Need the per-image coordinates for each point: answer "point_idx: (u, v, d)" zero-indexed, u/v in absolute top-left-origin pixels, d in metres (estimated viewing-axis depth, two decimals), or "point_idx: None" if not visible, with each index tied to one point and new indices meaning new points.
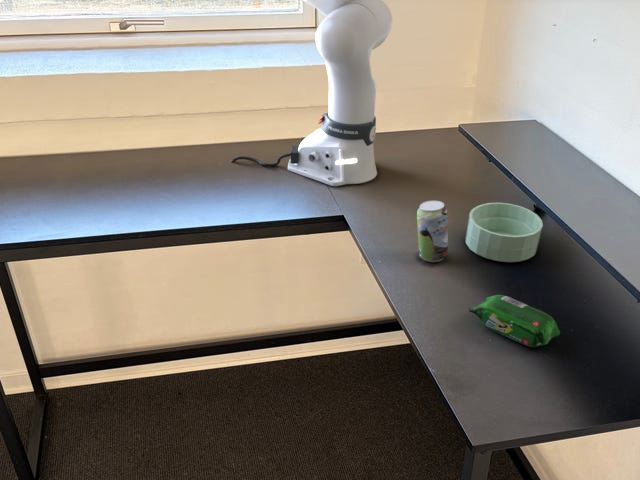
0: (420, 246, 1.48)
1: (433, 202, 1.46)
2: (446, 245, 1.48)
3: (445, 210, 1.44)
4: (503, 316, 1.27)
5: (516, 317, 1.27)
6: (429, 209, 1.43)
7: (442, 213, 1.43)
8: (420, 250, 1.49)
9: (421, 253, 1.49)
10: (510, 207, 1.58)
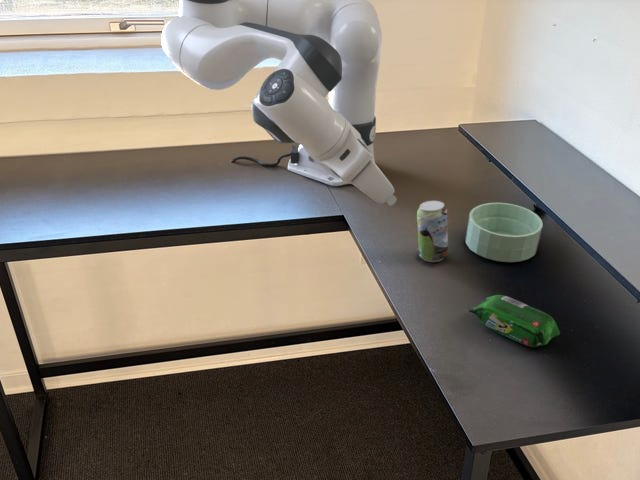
0: (420, 246, 1.48)
1: (433, 202, 1.46)
2: (446, 245, 1.48)
3: (445, 210, 1.44)
4: (503, 316, 1.27)
5: (516, 317, 1.27)
6: (429, 209, 1.43)
7: (442, 213, 1.43)
8: (420, 250, 1.49)
9: (421, 253, 1.49)
10: (510, 207, 1.58)
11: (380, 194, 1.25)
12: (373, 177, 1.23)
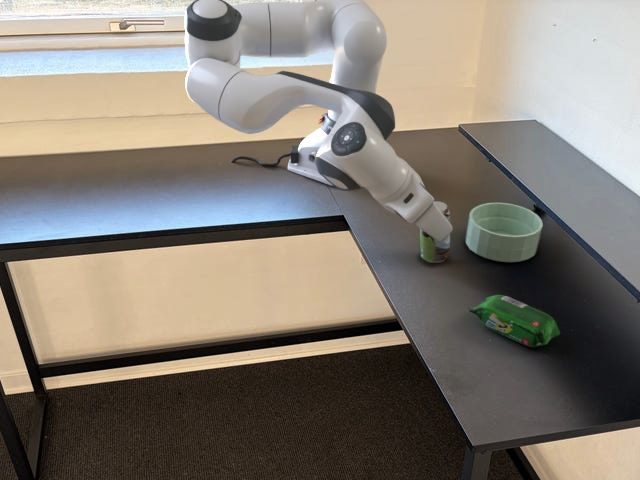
0: (422, 246, 1.48)
1: (436, 203, 1.45)
2: (448, 246, 1.47)
3: (448, 212, 1.44)
4: (503, 316, 1.27)
5: (516, 317, 1.27)
6: None
7: (444, 214, 1.43)
8: (422, 250, 1.49)
9: (423, 254, 1.49)
10: (510, 207, 1.58)
11: (440, 233, 1.36)
12: (434, 218, 1.34)
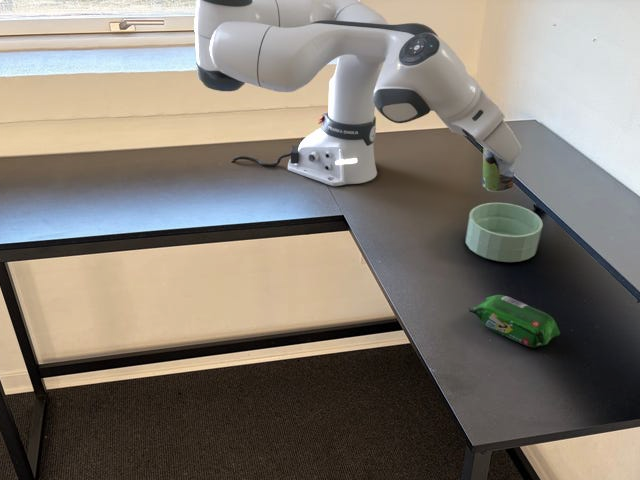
0: (485, 175, 1.42)
1: None
2: (512, 175, 1.42)
3: None
4: (503, 316, 1.27)
5: (516, 317, 1.27)
6: None
7: None
8: (484, 179, 1.43)
9: (485, 183, 1.43)
10: (510, 207, 1.58)
11: (509, 154, 1.30)
12: (504, 137, 1.28)
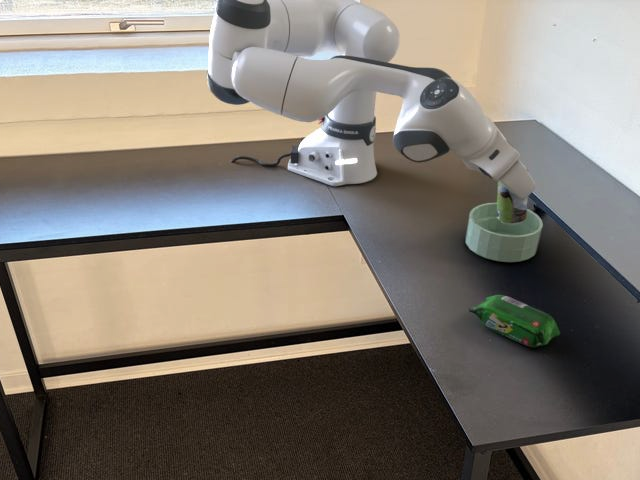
0: (499, 208, 1.49)
1: None
2: (525, 208, 1.48)
3: None
4: (503, 316, 1.27)
5: (516, 317, 1.27)
6: None
7: None
8: (499, 212, 1.49)
9: (500, 216, 1.49)
10: None
11: (523, 191, 1.37)
12: (519, 175, 1.35)
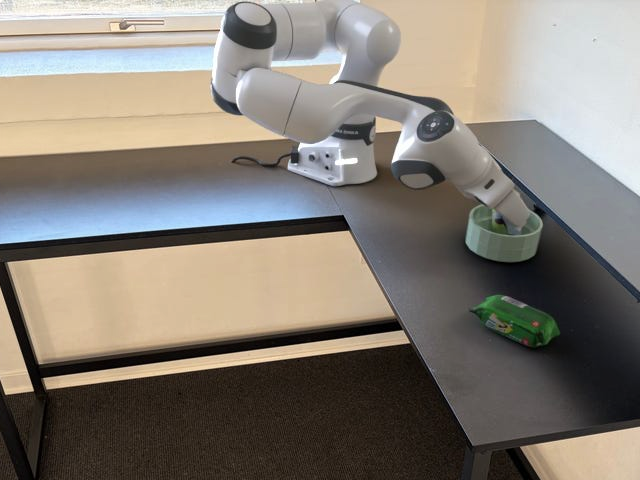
0: None
1: None
2: (519, 234, 1.52)
3: None
4: (503, 316, 1.27)
5: (516, 317, 1.27)
6: None
7: None
8: None
9: None
10: None
11: (518, 219, 1.40)
12: (514, 204, 1.38)
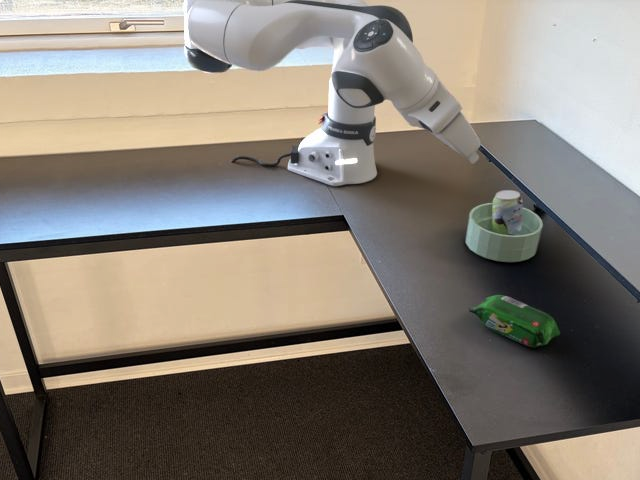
0: None
1: (509, 191, 1.50)
2: (519, 234, 1.52)
3: (521, 199, 1.48)
4: (503, 316, 1.27)
5: (516, 317, 1.27)
6: (505, 198, 1.48)
7: (517, 202, 1.47)
8: None
9: None
10: None
11: (467, 147, 1.26)
12: (461, 129, 1.24)
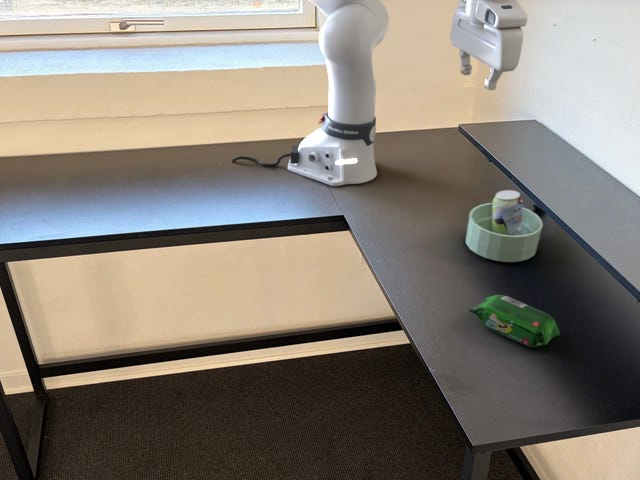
0: None
1: (509, 191, 1.50)
2: (519, 234, 1.52)
3: (521, 199, 1.48)
4: (503, 316, 1.27)
5: (516, 317, 1.27)
6: (505, 198, 1.48)
7: (517, 202, 1.47)
8: None
9: None
10: None
11: (508, 59, 1.34)
12: (515, 40, 1.32)
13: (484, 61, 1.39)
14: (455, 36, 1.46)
